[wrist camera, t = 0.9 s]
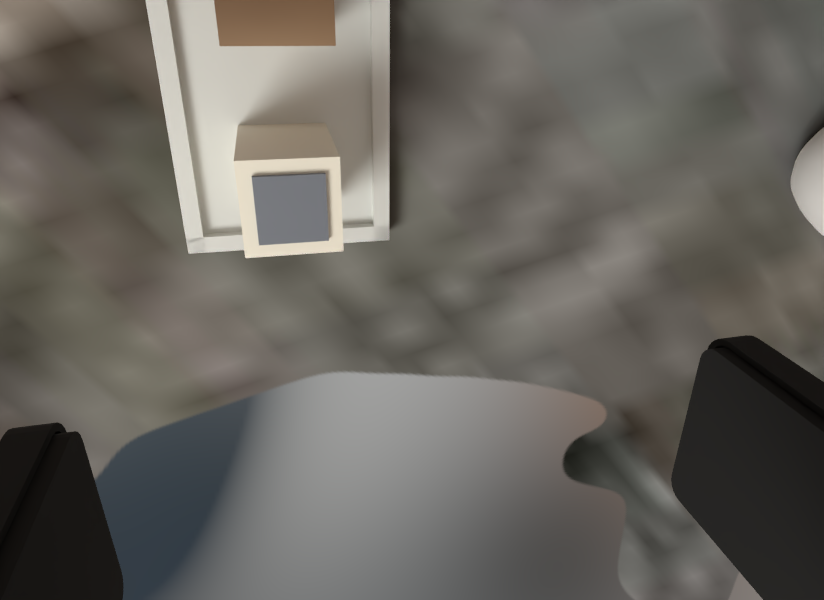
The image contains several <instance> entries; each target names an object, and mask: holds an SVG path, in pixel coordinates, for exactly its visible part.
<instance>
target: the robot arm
mask: <svg viewBox="0 0 824 600" xmlns="http://www.w3.org/2000/svg"><path fill="white" fill-rule="evenodd" d="M671 481H672V487H673V491H674V493H675V495H676V497H677V498H678V500H679V501H680V502H681V503H682V505H683V506H684V507H685V508H686V509H687V510H688V512H689V513H690V514H691V515H692V516H693V518H694V519H695V520H696V521H697V522H698V523H699V525H700V526H701V527H702V528H703V529H704V530H705V532H706V533H707V534H708V535H709V536H710V538H711V539H712V540H713V541H714V542H715V543H716V545H717V546H718V547H719V548H720V549H721V550H722V552H723V553H724V554H725V555H726V556H727V558H728V559H729V560H730V561H731V562H732V563H733V565H734V566H735V567H736V568H737V569H738V570H739V572H740V573H741V574H742V575H743V576H744V578H745V579H746V580H747V581H748V582H749V583H750V585H751V586H752V587H753V588H754V589H755V590H756V592H757V593H758V594H759V595H760V596H761V597H762V599H763V600H824V382H823V381H821V380H820V379H818V378H817V377H815V376H814V375H812V374H811V373H809V372H808V371H806V370H805V369H803V368H802V367H800V366H799V365H797V364H796V363H794V362H793V361H791V360H790V359H788V358H787V357H785V356H784V355H782V354H781V353H779V352H778V351H776V350H775V349H773V348H772V347H770V346H769V345H767V344H766V343H764V342H763V341H761V340H760V339H758V338H756V337H754V336H739V337H731V338H723V339H717V340H715V341H713V342H712V343H711V344H710V345H709V347H708V350H706V351H704V352H703V354H702V356H701V358H700V362H699V366H698V370H697V374H696V378H695V382H694V386H693V390H692V394H691V399H690V403H689V407H688V411H687V415H686V419H685V423H684V427H683V431H682V435H681V440H680V444H679V448H678V452H677V456H676V460H675V464H674V468H673V472H672V478H671ZM122 598H123V577H122V572H121V568H120V565H119V562H118V559H117V555H116V551H115V548H114V545H113V542H112V538H111V535H110V531H109V528H108V524H107V521H106V518H105V514H104V511H103V508H102V504H101V501H100V498H99V494H98V491H97V487H96V484H95V480H94V477H93V474H92V470H91V467H90V464H89V460H88V457H87V453H86V450H85V447H84V443H83V440H82V438H81V435H80V434H79V433H78V432H76V431H75V432H66V430H65V428H64V427H63V425H62V424H60V423H50V424H42V425H34V426H26V427H18V428H12V429H9V430H8V431H7V432H6V433H5V434H4V435H3V437H2V439H1V441H0V600H122Z"/></svg>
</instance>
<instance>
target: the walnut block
mask: <svg viewBox="0 0 824 600" xmlns="http://www.w3.org/2000/svg"><path fill="white" fill-rule="evenodd" d="M214 5H215V13H216V21H217V29H218V37H219V46H336V36H335V9H334V0H214Z"/></svg>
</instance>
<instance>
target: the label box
mask: <svg viewBox="0 0 824 600" xmlns="http://www.w3.org/2000/svg"><path fill="white" fill-rule="evenodd" d="M234 169H235V177H236V185H237V194H238V202H239V210H240V218H241V226H242V235H243V243H244V251H245V258H254V257H268V256H282V255H296V254H310V253H324V252H338V251H343V224H342V197H341V170H340V156H339V153H338V151H337V149H336V146H335V144H334V142H333V140H332V137H331V135H330V133H329V130H328V128H327V126H326V123H300V124H265V125H238V128H237V137H236V145H235V153H234Z"/></svg>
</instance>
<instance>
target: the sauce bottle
mask: <svg viewBox="0 0 824 600" xmlns="http://www.w3.org/2000/svg"><path fill="white" fill-rule="evenodd" d="M791 190H792V194H793V196H794V198H795V200H796V203H797V205H798V207H799V209H800V210H801V212H802V213H803V215H804V216H805V217H806V218H807V220H808V221H809V222H810V223H811V224H812V225H813V227H814V228H815V229H816V230H817V231H818V232H820V233H821V234H822V235H823V236H824V127H823V128H822V129H821V130H820V131H818V132H817V133H816V134H815V135H814V136H813V137H812V138H811V139H810V140H809V141H808V142H807V143H806V144H805V146H804V147H803V148H802V150H801V151H800V153H799V155H798V156H797V159H796V161H795V164H794V167H793V171H792V175H791Z"/></svg>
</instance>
